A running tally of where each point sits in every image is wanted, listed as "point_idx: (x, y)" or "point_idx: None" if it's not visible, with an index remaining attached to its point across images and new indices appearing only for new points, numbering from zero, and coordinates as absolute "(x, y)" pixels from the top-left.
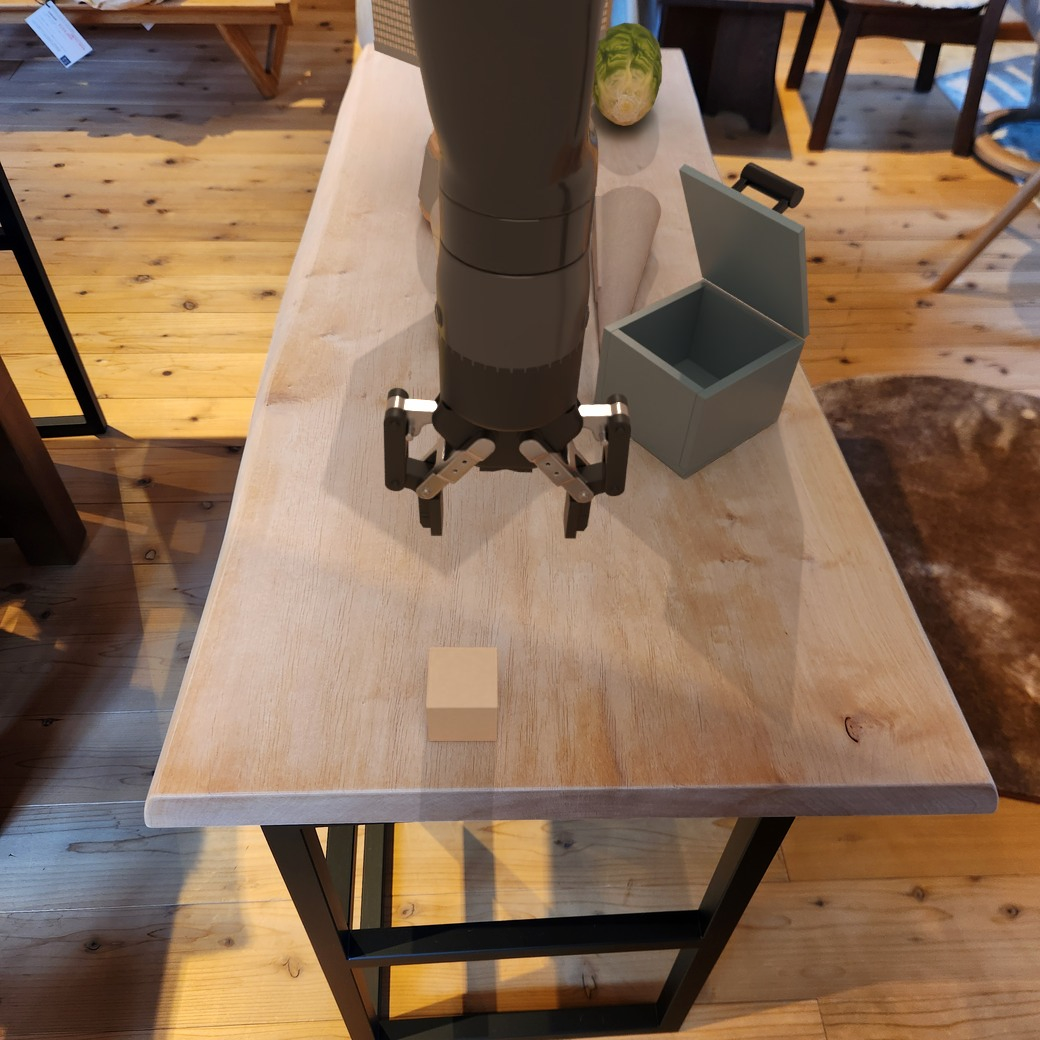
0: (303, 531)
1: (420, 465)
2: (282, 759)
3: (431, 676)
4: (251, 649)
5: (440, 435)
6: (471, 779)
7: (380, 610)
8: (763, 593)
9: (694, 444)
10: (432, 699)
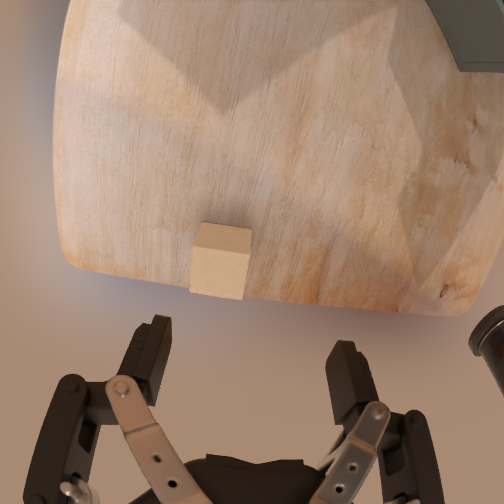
0: (101, 63)
1: (110, 413)
2: (112, 259)
3: (193, 270)
4: (78, 179)
5: (125, 438)
6: None
7: (161, 148)
8: (462, 196)
9: (487, 71)
10: (193, 287)
